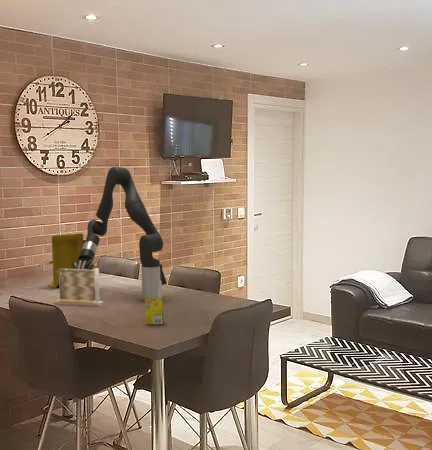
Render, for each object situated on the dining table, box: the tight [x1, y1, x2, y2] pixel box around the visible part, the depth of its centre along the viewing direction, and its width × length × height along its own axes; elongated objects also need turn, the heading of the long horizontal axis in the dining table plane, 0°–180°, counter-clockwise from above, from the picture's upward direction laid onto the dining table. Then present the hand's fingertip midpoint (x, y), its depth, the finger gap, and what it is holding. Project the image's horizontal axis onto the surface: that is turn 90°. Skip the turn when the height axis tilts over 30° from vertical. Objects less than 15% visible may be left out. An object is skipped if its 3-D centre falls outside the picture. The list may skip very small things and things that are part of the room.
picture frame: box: [52, 267, 104, 307], centre depth 292 cm, size 25×5×18 cm, turn 76°
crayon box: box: [144, 297, 164, 325], centre depth 255 cm, size 7×3×12 cm, turn 88°
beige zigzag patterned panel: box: [58, 268, 96, 301], centre depth 292 cm, size 18×2×15 cm, turn 76°
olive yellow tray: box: [38, 232, 96, 290], centre depth 338 cm, size 31×14×30 cm, turn 125°
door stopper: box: [160, 263, 168, 286], centre depth 339 cm, size 9×6×12 cm, turn 124°
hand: (77, 279), depth 301 cm, fingers closed
